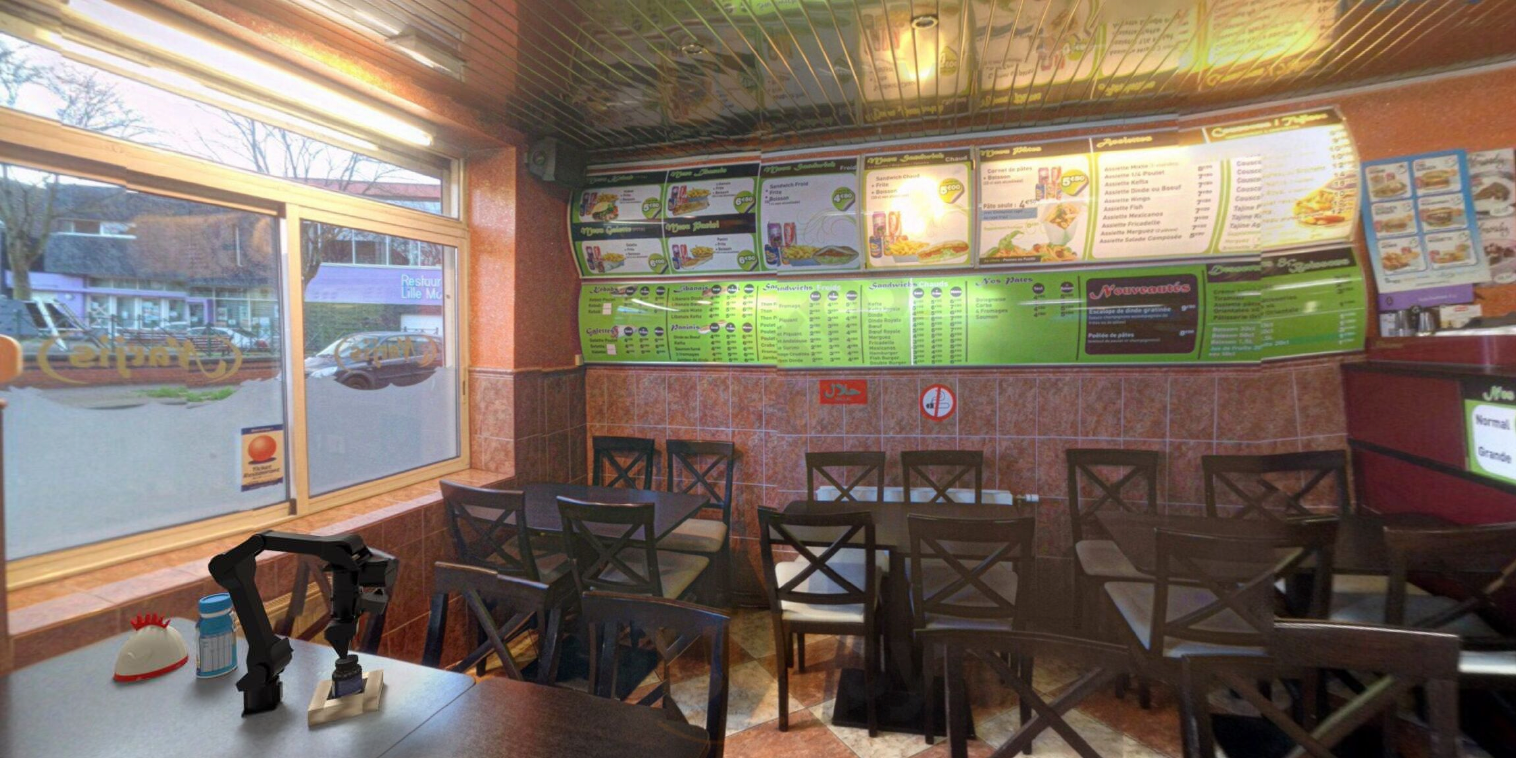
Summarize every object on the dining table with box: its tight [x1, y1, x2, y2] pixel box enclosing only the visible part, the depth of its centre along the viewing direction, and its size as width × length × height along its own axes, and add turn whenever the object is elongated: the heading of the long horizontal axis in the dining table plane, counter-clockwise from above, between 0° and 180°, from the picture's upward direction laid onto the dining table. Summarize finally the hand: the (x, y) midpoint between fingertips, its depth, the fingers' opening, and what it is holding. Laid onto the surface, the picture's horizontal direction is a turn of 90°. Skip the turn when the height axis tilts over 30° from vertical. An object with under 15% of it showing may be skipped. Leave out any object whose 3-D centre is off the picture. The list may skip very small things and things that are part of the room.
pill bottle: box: [331, 653, 364, 699], centre depth 144 cm, size 6×6×11 cm
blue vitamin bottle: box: [194, 592, 238, 679], centre depth 156 cm, size 8×8×20 cm
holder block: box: [307, 668, 384, 727], centre depth 144 cm, size 14×14×4 cm
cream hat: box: [113, 611, 189, 683], centre depth 158 cm, size 14×14×15 cm
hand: (347, 650), depth 144 cm, fingers open, 9 cm apart
